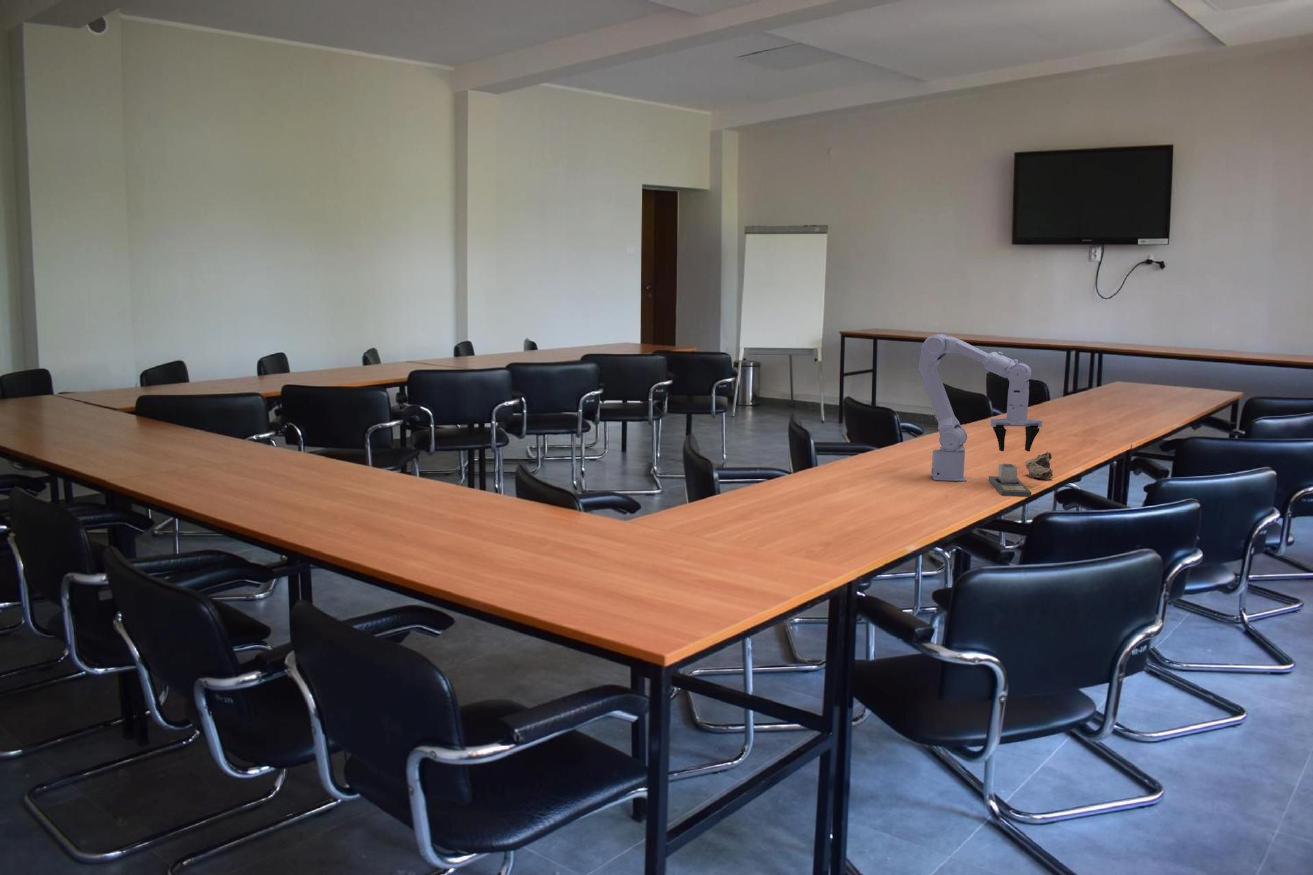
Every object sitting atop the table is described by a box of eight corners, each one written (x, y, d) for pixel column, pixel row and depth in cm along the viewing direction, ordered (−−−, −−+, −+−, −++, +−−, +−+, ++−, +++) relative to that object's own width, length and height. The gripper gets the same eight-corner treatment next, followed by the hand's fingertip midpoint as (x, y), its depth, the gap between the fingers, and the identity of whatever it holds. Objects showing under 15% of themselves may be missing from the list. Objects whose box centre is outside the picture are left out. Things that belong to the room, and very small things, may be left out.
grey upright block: (1000, 487, 304) (1001, 465, 303) (997, 484, 308) (999, 462, 307) (1016, 487, 303) (1017, 466, 302) (1013, 484, 308) (1014, 463, 306)
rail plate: (1001, 495, 292) (1001, 491, 292) (988, 480, 314) (988, 475, 313) (1031, 496, 291) (1031, 492, 291) (1016, 480, 312) (1016, 476, 312)
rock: (1067, 474, 315) (1050, 450, 321) (1057, 467, 310) (1040, 443, 317) (1043, 491, 319) (1027, 467, 325) (1033, 485, 314) (1017, 460, 320)
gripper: (997, 406, 299) (994, 452, 301) (1047, 407, 299) (1044, 453, 301) (989, 403, 306) (986, 448, 308) (1038, 403, 306) (1035, 449, 308)
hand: (1014, 450), depth 305 cm, fingers open, 7 cm apart
